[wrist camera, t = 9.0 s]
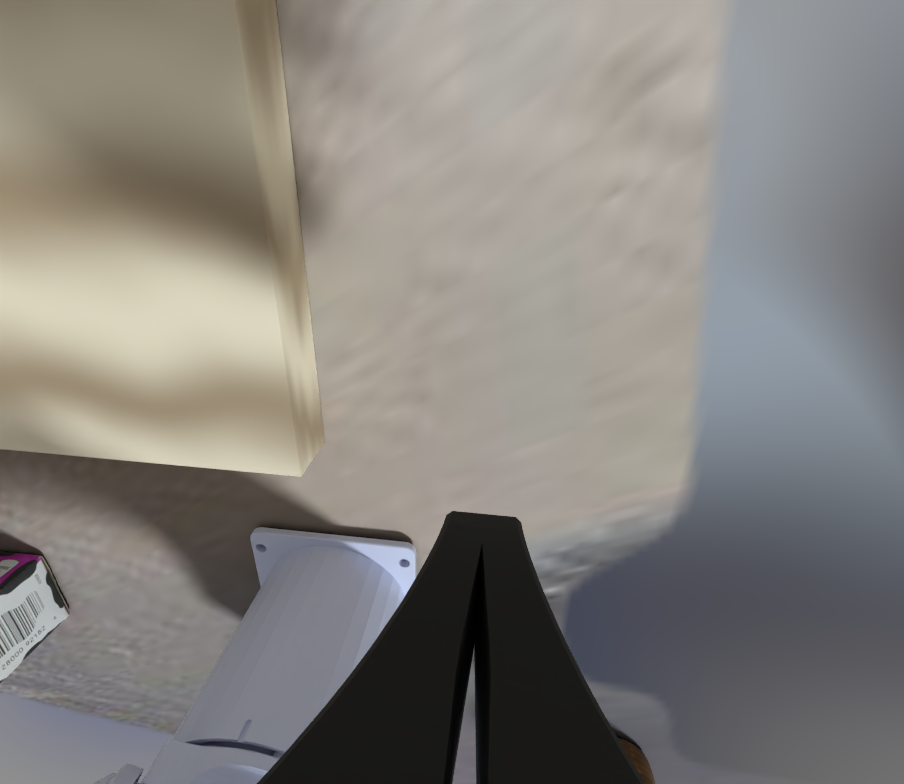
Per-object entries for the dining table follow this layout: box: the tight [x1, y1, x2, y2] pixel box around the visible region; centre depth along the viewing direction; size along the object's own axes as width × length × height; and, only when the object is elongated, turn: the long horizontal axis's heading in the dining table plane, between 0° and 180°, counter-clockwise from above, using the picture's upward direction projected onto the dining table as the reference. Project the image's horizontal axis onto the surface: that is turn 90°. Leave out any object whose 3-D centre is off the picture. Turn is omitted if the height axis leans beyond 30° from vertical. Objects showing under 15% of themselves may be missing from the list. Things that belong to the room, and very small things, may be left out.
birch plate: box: [0, 0, 324, 477], centre depth 15 cm, size 18×13×2 cm
